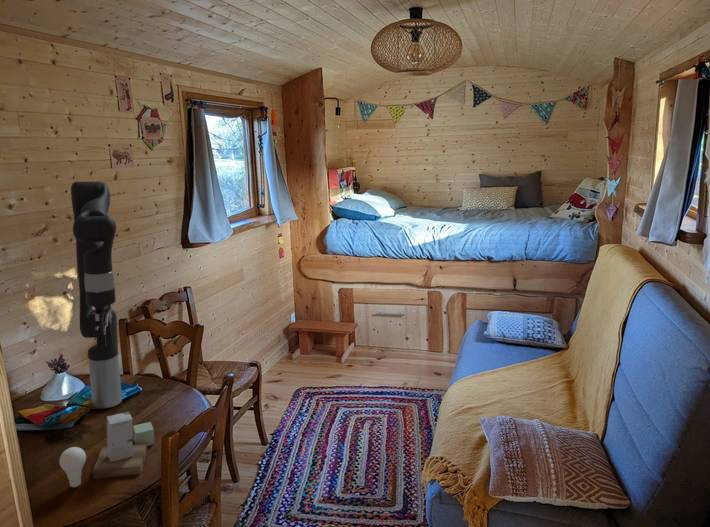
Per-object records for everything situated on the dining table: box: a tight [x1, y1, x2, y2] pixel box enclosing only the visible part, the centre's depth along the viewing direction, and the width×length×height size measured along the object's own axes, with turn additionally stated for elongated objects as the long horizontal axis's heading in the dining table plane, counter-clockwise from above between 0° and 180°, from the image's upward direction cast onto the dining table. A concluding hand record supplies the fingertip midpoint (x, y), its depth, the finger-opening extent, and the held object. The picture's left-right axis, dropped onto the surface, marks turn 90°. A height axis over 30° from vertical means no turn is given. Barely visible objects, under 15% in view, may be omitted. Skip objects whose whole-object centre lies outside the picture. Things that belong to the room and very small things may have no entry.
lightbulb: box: [59, 446, 87, 488], centre depth 139 cm, size 6×6×11 cm
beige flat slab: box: [92, 442, 148, 480], centre depth 151 cm, size 12×12×3 cm
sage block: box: [133, 421, 155, 447], centre depth 161 cm, size 5×5×5 cm
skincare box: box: [106, 411, 134, 462], centre depth 148 cm, size 6×4×12 cm
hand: (104, 341), depth 154 cm, fingers open, 8 cm apart
